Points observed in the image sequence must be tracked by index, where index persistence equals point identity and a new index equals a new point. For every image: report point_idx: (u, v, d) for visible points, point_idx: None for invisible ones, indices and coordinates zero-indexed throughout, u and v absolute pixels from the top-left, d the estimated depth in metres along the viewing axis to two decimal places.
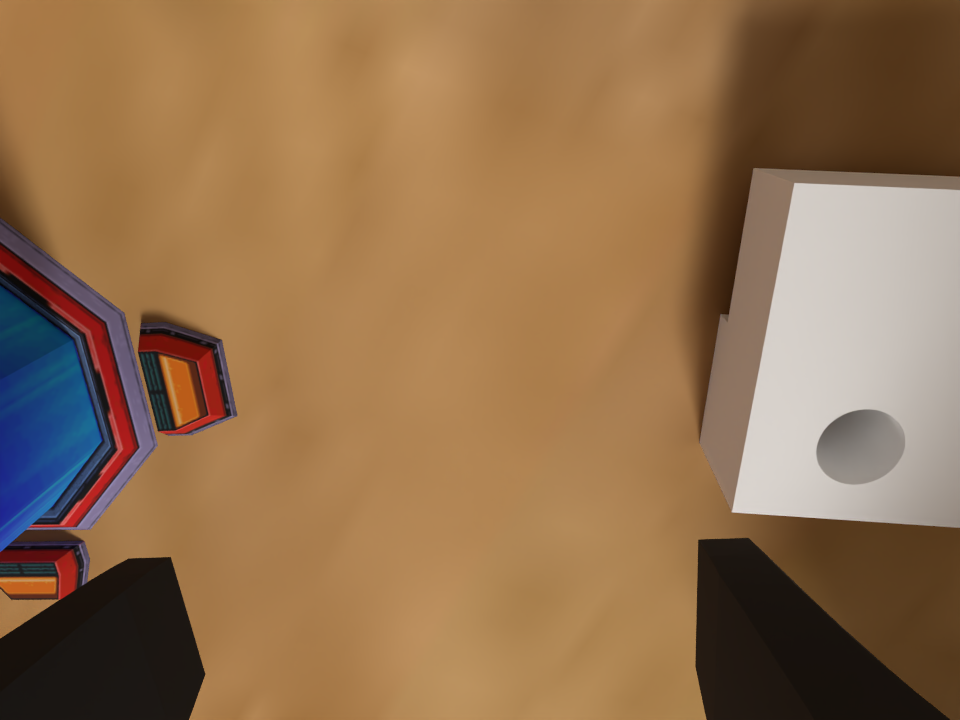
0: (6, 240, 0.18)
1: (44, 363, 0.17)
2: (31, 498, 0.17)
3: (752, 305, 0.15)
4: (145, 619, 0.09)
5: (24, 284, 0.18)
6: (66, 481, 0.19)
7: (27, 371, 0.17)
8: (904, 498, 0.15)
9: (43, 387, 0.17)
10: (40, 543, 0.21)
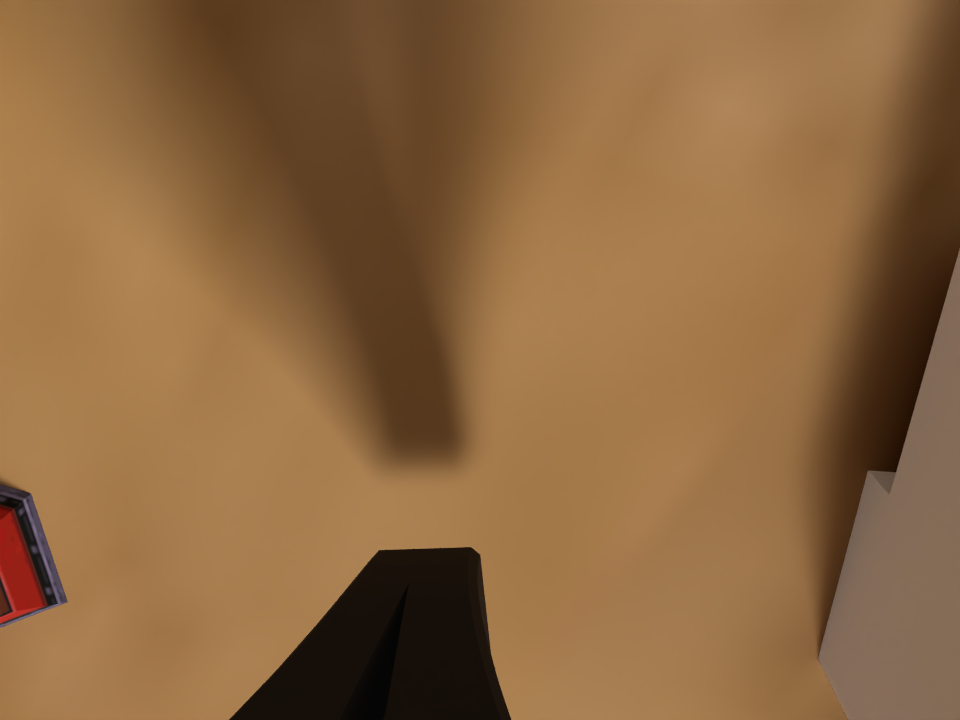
0: None
1: None
2: None
3: None
4: None
5: None
6: None
7: None
8: None
9: None
10: None
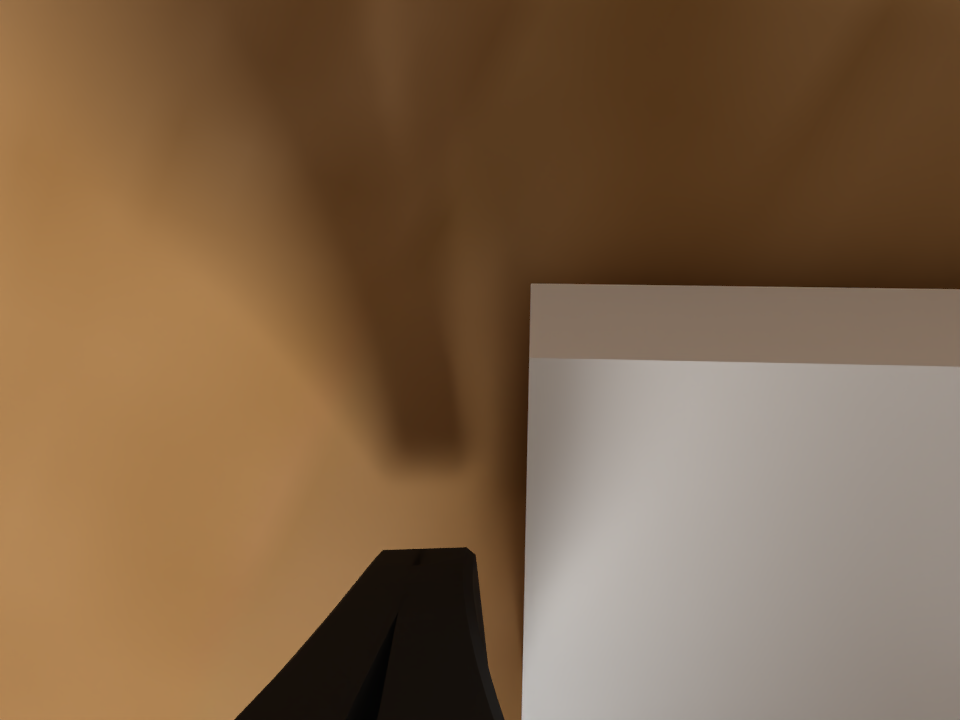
0: None
1: None
2: None
3: None
4: None
5: None
6: None
7: None
8: None
9: None
10: None
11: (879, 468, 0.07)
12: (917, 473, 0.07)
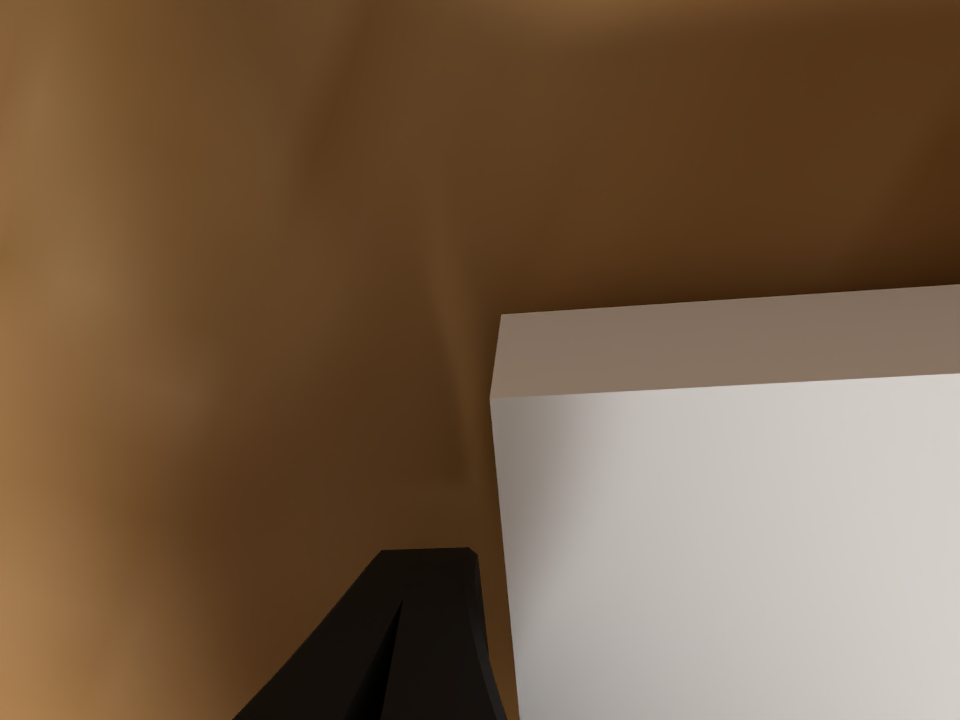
0: None
1: None
2: None
3: None
4: None
5: None
6: None
7: None
8: None
9: None
10: None
11: (846, 481, 0.07)
12: (884, 482, 0.07)
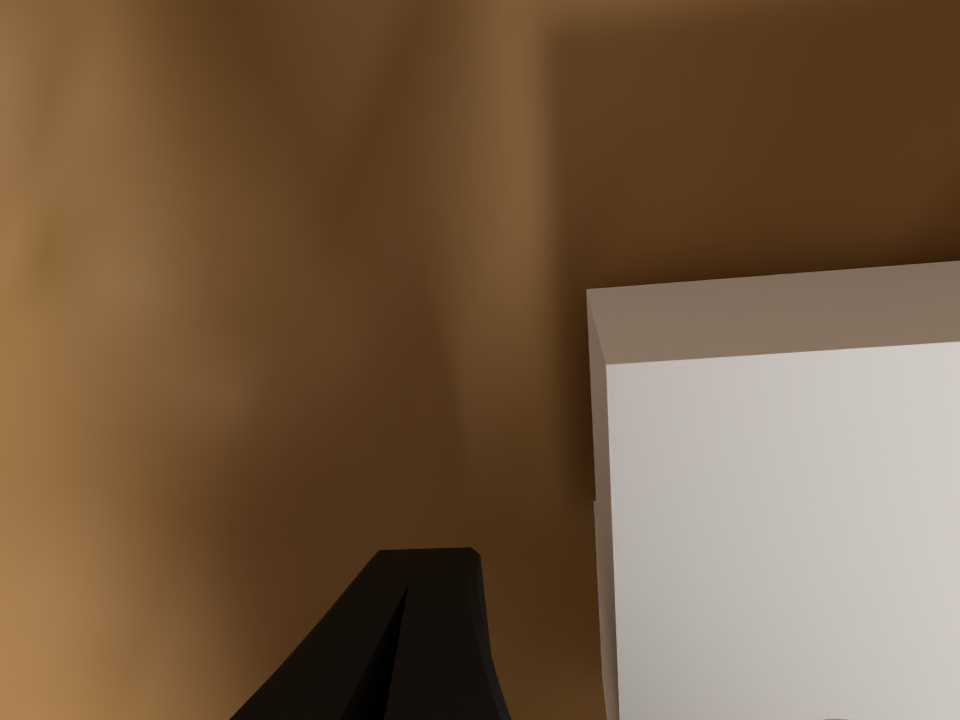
0: None
1: None
2: None
3: (605, 537, 0.09)
4: None
5: None
6: None
7: None
8: None
9: None
10: None
11: None
12: None
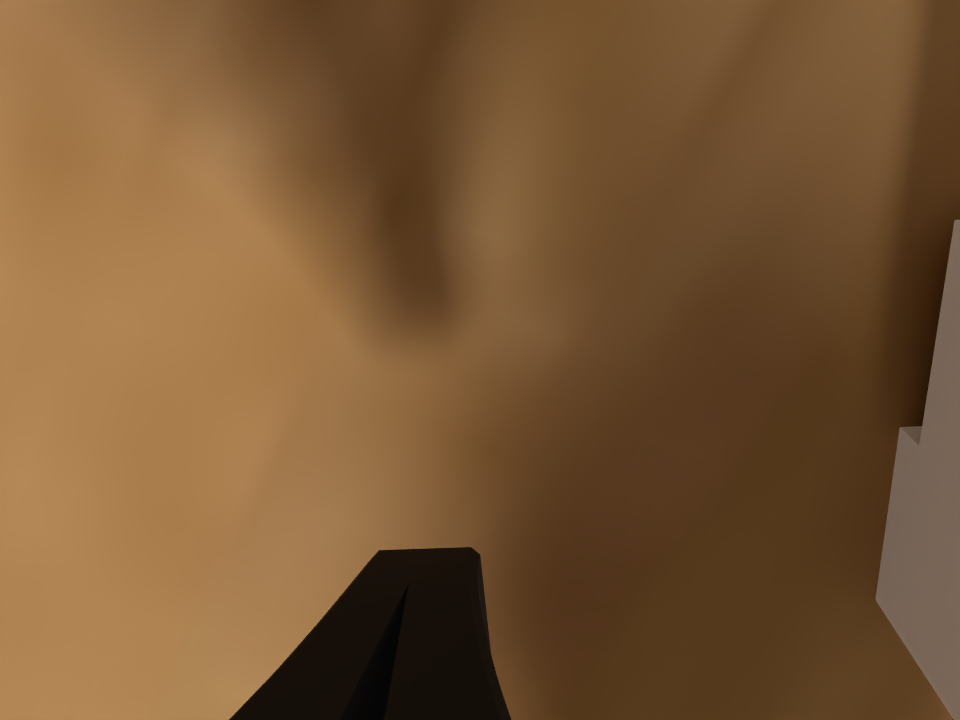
0: None
1: None
2: None
3: None
4: None
5: None
6: None
7: None
8: None
9: None
10: None
11: None
12: None
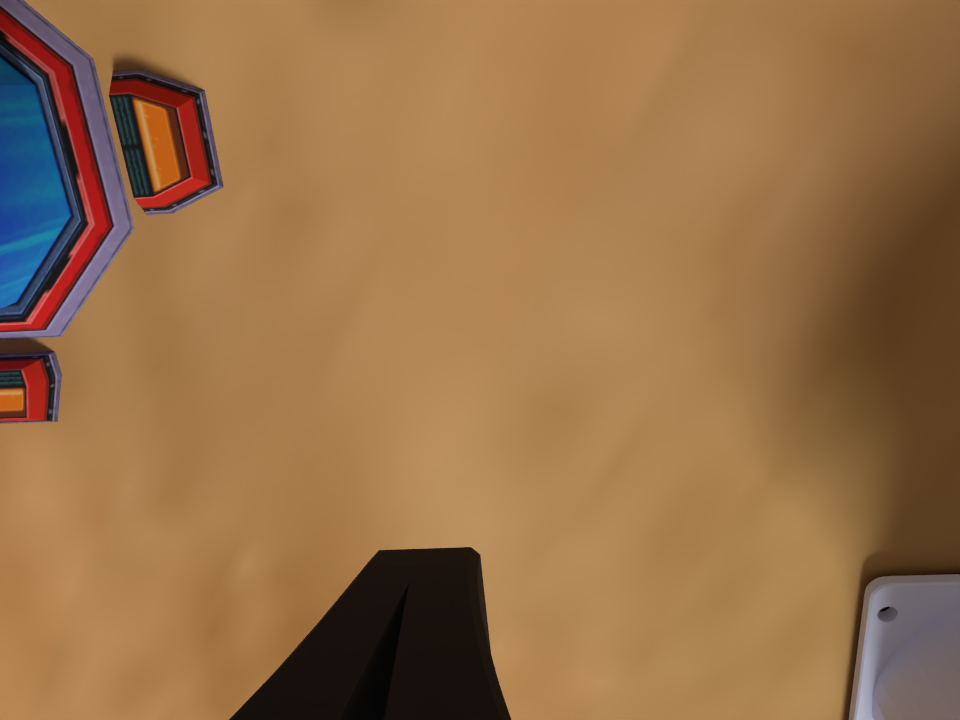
0: None
1: None
2: None
3: None
4: None
5: None
6: (30, 259, 0.17)
7: None
8: None
9: None
10: (6, 355, 0.19)
11: None
12: None
